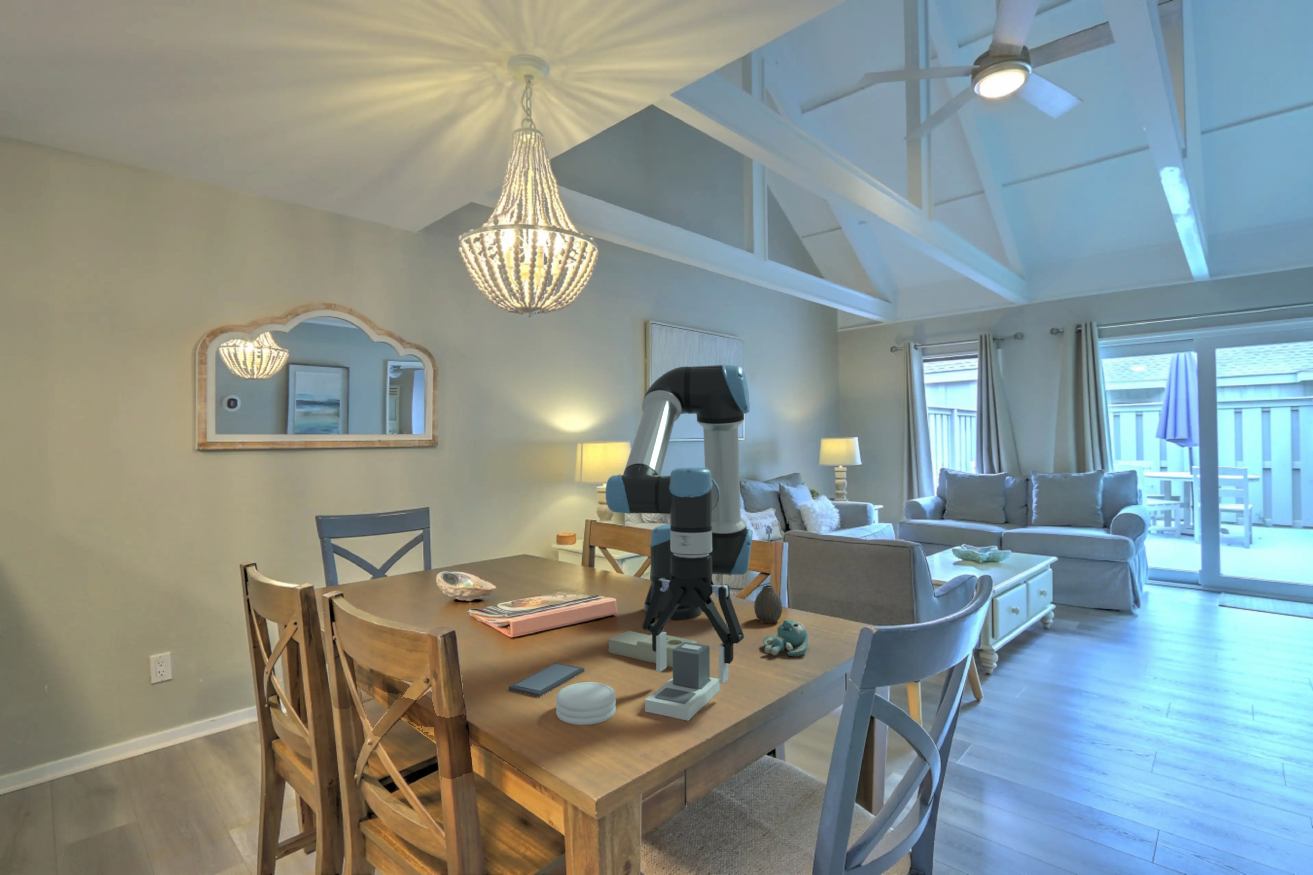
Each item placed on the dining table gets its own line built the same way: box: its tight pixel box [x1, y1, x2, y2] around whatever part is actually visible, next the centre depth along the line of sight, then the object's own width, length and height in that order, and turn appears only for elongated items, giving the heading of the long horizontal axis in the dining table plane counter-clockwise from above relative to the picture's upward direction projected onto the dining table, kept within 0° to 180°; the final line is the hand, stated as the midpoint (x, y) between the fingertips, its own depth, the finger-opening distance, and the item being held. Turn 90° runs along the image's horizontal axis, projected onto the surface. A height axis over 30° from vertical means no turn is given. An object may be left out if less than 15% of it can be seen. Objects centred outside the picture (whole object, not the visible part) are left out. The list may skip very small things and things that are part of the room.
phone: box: [508, 662, 585, 698], centre depth 120 cm, size 14×7×1 cm, turn 152°
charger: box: [672, 642, 711, 689], centre depth 113 cm, size 5×5×6 cm
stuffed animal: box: [762, 619, 809, 657], centre depth 136 cm, size 11×7×12 cm
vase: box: [753, 584, 783, 624], centre depth 158 cm, size 7×7×9 cm
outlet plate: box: [644, 676, 721, 722], centre depth 110 cm, size 14×8×2 cm, turn 153°
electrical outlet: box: [608, 630, 698, 668], centre depth 134 cm, size 7×4×18 cm
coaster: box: [555, 681, 617, 726], centre depth 106 cm, size 10×10×4 cm
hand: (691, 674), depth 113 cm, fingers open, 11 cm apart
